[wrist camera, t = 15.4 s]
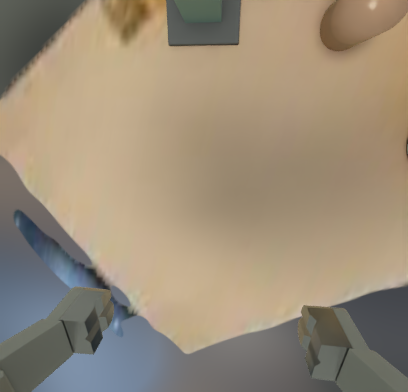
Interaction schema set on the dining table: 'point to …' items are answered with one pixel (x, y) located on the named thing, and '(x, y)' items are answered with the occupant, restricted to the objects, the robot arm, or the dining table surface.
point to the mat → (204, 27)
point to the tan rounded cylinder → (359, 21)
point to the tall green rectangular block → (200, 10)
